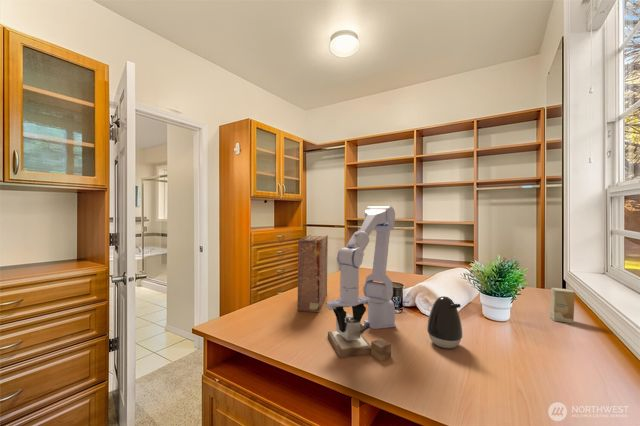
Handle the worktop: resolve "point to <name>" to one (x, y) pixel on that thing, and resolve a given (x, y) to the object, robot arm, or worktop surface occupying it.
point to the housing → (350, 328)
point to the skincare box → (562, 305)
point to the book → (312, 272)
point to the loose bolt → (363, 326)
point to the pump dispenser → (445, 323)
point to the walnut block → (381, 349)
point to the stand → (349, 345)
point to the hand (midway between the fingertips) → (348, 329)
